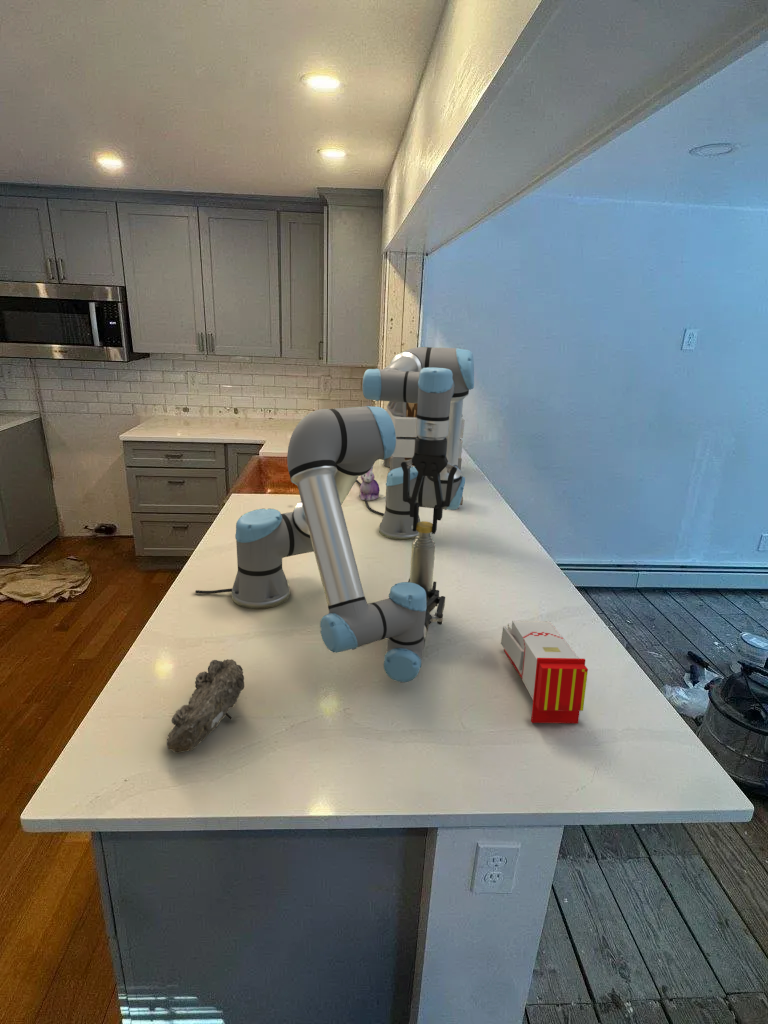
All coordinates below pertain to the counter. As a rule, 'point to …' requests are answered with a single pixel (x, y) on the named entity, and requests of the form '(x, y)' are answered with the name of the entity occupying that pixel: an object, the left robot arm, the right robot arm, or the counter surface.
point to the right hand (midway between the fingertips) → (424, 530)
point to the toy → (547, 670)
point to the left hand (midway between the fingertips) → (422, 584)
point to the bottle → (423, 562)
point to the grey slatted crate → (407, 433)
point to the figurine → (369, 487)
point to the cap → (424, 527)
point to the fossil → (206, 705)
